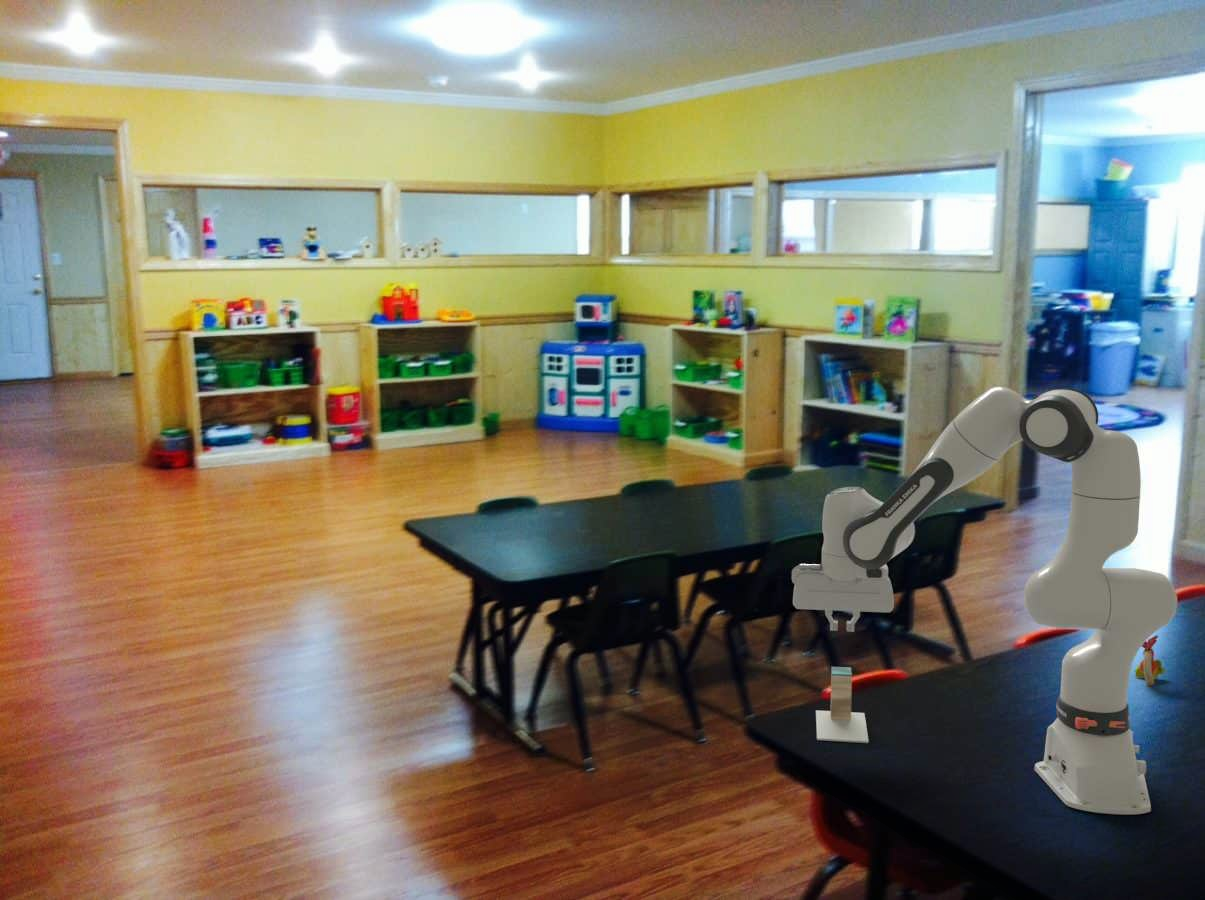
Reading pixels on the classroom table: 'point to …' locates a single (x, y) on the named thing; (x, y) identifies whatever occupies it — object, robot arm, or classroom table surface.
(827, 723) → the grey mat
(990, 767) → the classroom table surface
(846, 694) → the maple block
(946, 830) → the classroom table surface
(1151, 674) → the bird rattle
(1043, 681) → the classroom table surface
